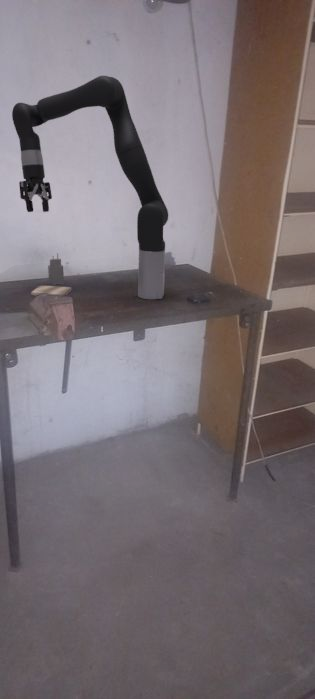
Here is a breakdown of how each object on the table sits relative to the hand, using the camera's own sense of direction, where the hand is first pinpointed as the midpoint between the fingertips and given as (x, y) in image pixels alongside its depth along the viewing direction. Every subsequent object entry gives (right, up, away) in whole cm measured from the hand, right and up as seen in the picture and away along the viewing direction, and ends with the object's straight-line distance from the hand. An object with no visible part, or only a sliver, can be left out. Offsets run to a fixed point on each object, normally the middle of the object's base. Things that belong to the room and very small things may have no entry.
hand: (38, 211), depth 188 cm
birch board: (+5, -29, +1) cm, 30 cm away
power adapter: (+4, -25, +13) cm, 28 cm away
